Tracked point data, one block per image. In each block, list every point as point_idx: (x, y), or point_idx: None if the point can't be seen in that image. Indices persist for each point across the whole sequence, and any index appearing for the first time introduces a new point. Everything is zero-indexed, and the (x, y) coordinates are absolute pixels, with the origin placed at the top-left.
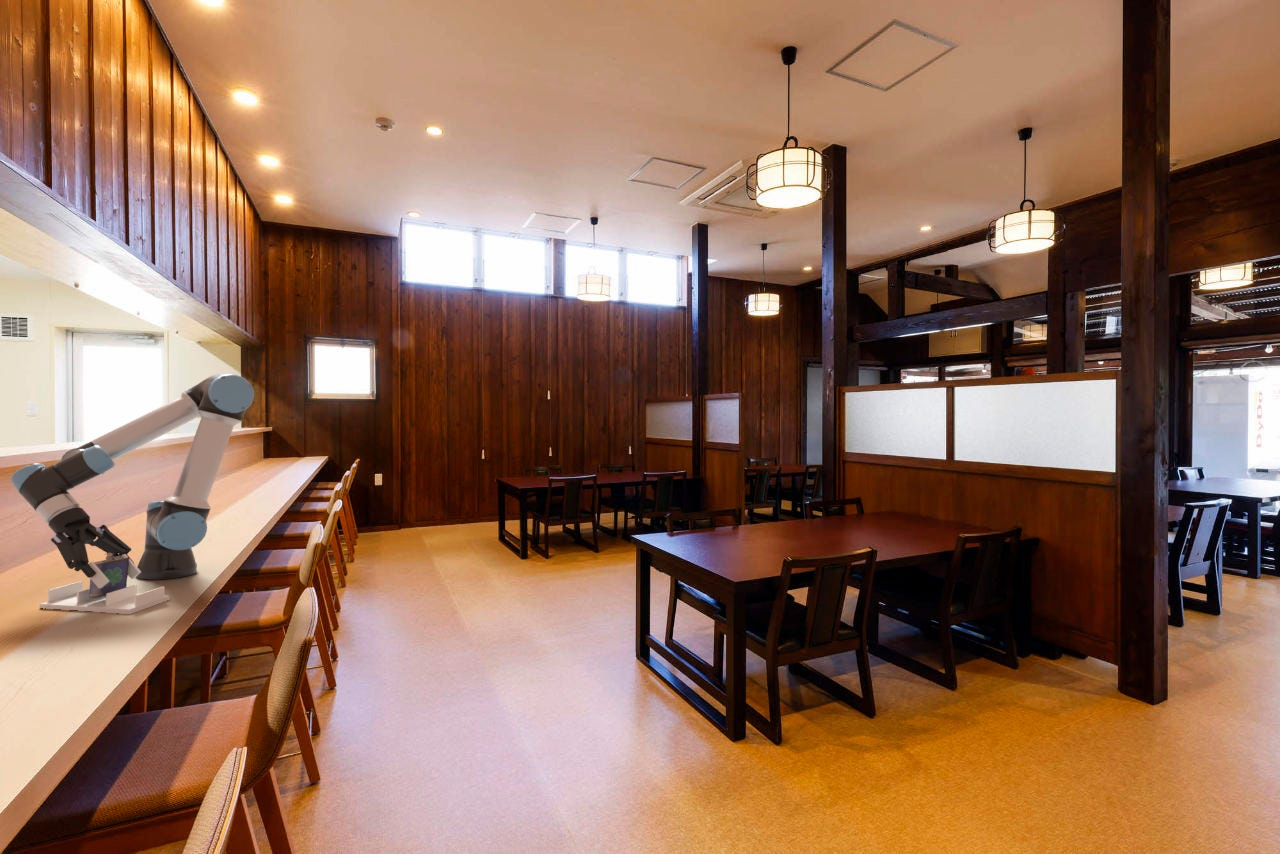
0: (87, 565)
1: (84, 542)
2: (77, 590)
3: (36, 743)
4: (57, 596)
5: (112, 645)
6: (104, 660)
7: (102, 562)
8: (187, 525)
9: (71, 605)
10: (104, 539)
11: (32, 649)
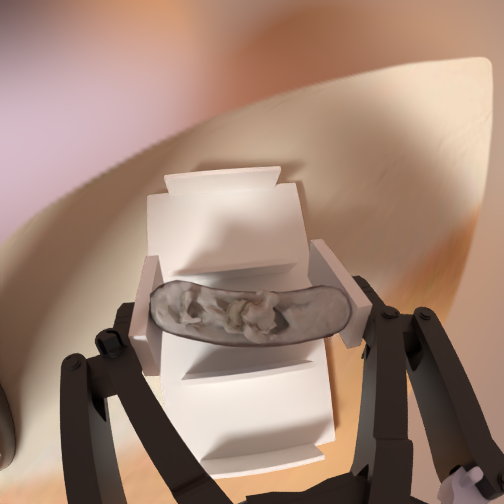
0: (375, 309)
1: (378, 437)
2: (216, 462)
3: (484, 67)
4: (287, 451)
5: (408, 105)
6: (431, 89)
7: (296, 315)
8: None
9: (322, 355)
10: (178, 473)
11: (466, 188)
